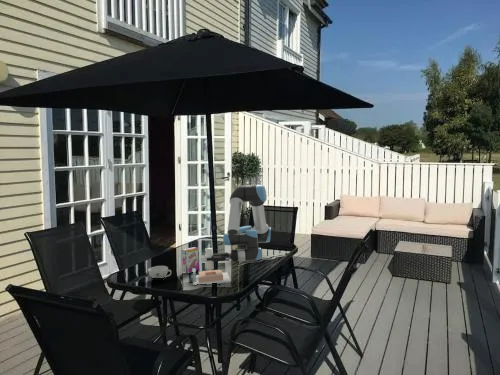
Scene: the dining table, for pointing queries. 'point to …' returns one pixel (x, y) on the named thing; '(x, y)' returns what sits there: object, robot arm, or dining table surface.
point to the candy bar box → (190, 259)
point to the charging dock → (225, 276)
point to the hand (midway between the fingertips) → (201, 258)
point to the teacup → (159, 272)
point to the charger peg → (209, 254)
